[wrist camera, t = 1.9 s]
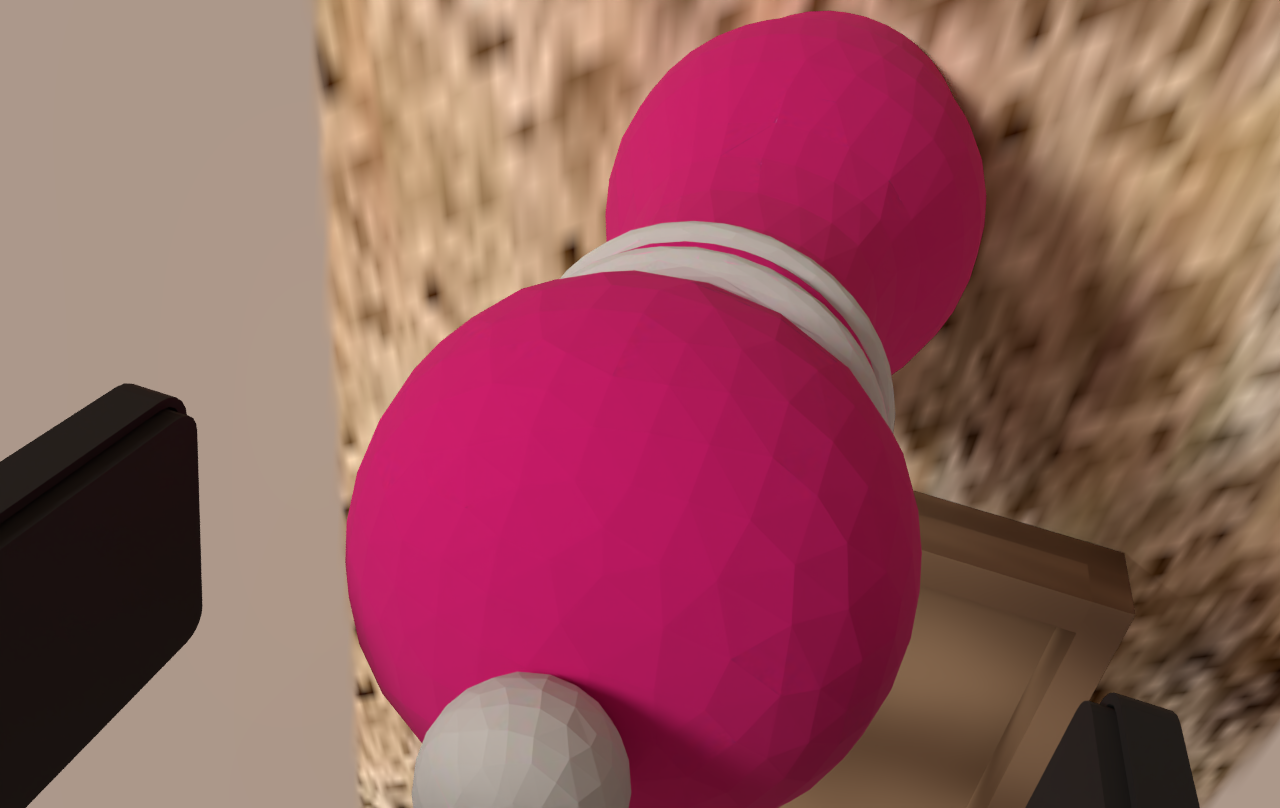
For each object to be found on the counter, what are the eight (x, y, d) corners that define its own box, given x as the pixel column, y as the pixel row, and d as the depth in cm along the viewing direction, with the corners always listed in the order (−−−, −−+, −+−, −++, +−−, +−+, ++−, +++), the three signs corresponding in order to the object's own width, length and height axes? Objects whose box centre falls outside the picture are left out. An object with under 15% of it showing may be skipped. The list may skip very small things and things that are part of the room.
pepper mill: (1036, 33, 23) (1183, 697, 6) (924, 334, 26) (815, 1272, 10) (705, -51, 24) (9, 310, 7) (641, 252, 27) (91, 968, 11)
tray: (602, 398, 30) (573, 443, 28) (1123, 553, 28) (1135, 615, 26) (539, 747, 37) (512, 805, 35) (949, 891, 35) (947, 961, 33)
